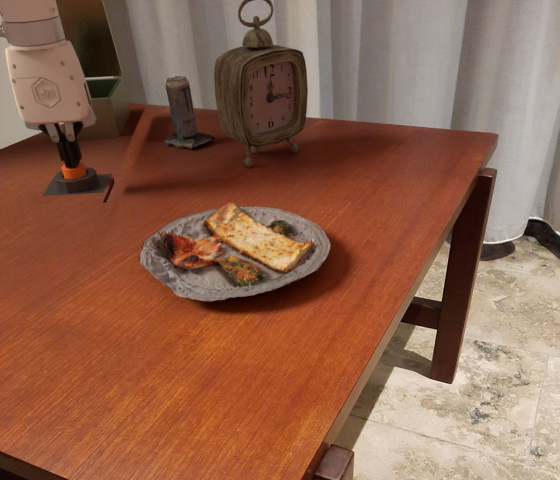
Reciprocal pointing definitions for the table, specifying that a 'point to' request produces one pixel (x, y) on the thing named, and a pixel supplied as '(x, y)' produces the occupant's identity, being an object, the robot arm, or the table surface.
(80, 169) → the button
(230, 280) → the food plate
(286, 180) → the table surface
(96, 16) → the lid
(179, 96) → the beverage can
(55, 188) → the panel
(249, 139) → the tabletop clock
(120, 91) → the machine
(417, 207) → the table surface
